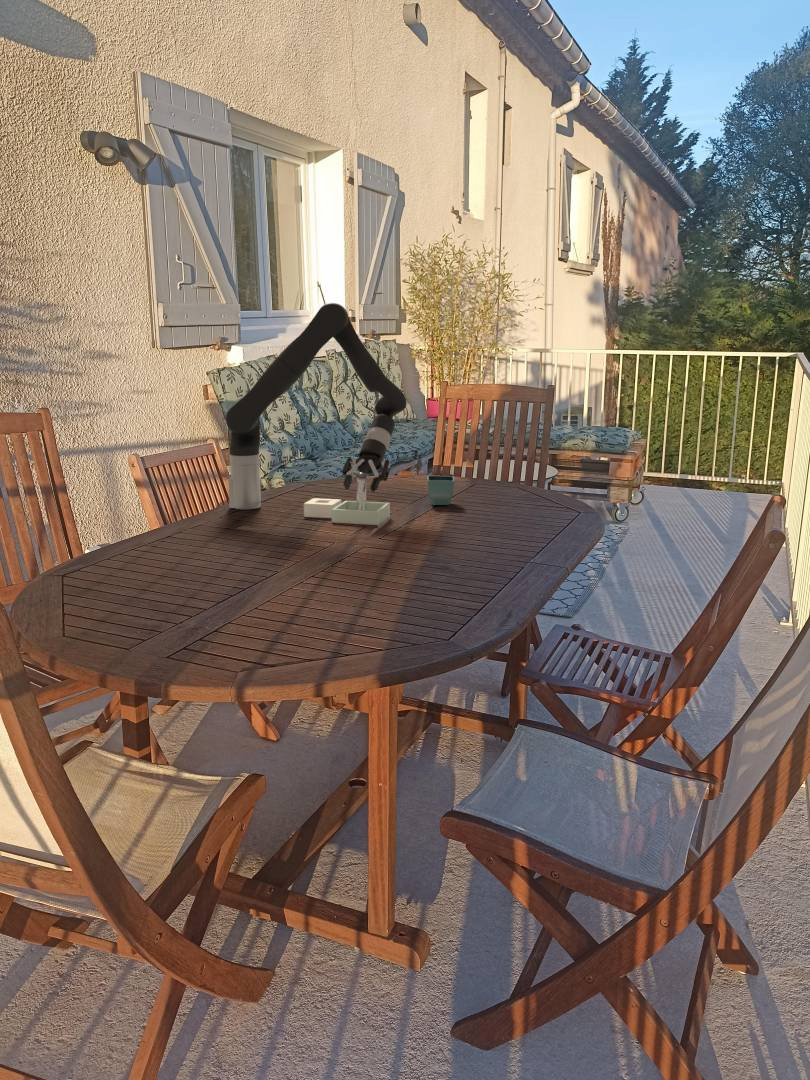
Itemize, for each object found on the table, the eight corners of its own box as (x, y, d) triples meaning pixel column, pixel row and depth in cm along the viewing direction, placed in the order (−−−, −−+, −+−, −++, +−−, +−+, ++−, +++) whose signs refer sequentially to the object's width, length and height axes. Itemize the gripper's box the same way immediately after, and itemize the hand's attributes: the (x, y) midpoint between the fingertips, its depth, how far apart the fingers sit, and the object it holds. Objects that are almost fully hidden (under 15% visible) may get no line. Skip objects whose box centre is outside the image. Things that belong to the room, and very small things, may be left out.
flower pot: (454, 507, 273) (454, 480, 271) (427, 507, 273) (427, 480, 271) (453, 502, 282) (453, 475, 280) (427, 502, 282) (427, 475, 280)
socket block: (304, 519, 254) (303, 503, 252) (314, 513, 262) (313, 498, 261) (332, 521, 252) (332, 504, 250) (341, 515, 260) (341, 499, 259)
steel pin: (354, 519, 250) (354, 473, 247) (357, 517, 253) (357, 471, 250) (365, 520, 249) (365, 473, 246) (368, 518, 252) (368, 472, 249)
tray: (331, 525, 246) (331, 509, 245) (345, 515, 259) (345, 500, 258) (378, 528, 243) (377, 511, 242) (389, 518, 256) (389, 502, 255)
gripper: (350, 436, 255) (333, 479, 247) (393, 439, 249) (377, 483, 242) (358, 452, 261) (341, 494, 253) (400, 454, 255) (384, 498, 248)
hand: (359, 489), depth 248 cm, fingers open, 8 cm apart
